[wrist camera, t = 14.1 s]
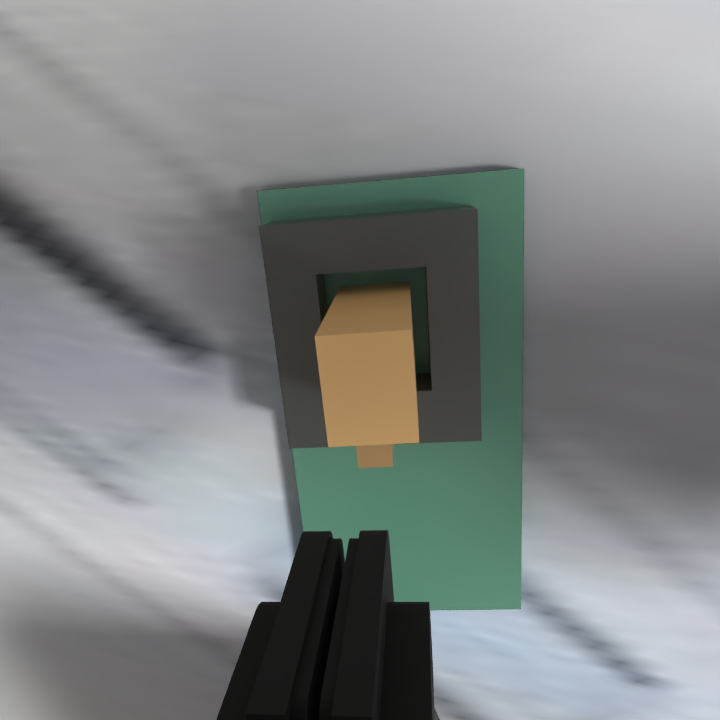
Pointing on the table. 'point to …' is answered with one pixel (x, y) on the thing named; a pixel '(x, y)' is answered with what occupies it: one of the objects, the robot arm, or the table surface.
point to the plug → (369, 371)
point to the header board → (433, 372)
